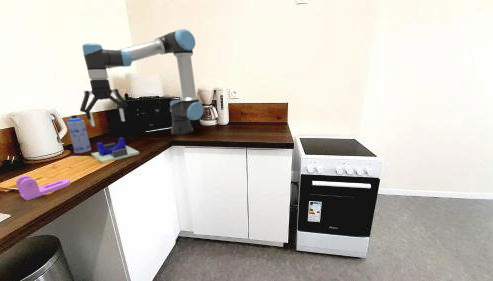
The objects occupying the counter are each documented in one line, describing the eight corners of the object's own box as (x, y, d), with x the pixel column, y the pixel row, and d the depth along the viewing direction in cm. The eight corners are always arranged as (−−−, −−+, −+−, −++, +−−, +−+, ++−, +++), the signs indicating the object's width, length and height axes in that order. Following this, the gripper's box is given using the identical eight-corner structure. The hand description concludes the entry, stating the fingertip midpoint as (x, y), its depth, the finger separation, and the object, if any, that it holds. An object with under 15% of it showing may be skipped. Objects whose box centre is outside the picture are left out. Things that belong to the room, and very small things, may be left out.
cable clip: (103, 155, 108) (100, 144, 106) (99, 154, 111) (96, 143, 109) (127, 149, 117) (125, 138, 115) (123, 148, 120) (121, 137, 118)
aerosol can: (93, 147, 127) (84, 113, 122) (88, 151, 120) (79, 115, 114) (77, 149, 125) (67, 115, 119) (72, 153, 117) (61, 117, 112)
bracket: (26, 201, 71) (19, 181, 69) (21, 196, 74) (14, 178, 72) (73, 184, 82) (68, 167, 80) (66, 181, 84) (61, 164, 83)
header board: (126, 147, 125) (125, 140, 124) (139, 153, 113) (137, 146, 112) (92, 155, 113) (90, 148, 112) (102, 163, 101) (100, 155, 100)
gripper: (123, 78, 114) (131, 118, 120) (64, 80, 96) (76, 127, 102) (129, 78, 109) (137, 119, 115) (68, 80, 91) (81, 129, 97)
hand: (108, 123), depth 108 cm, fingers open, 13 cm apart
